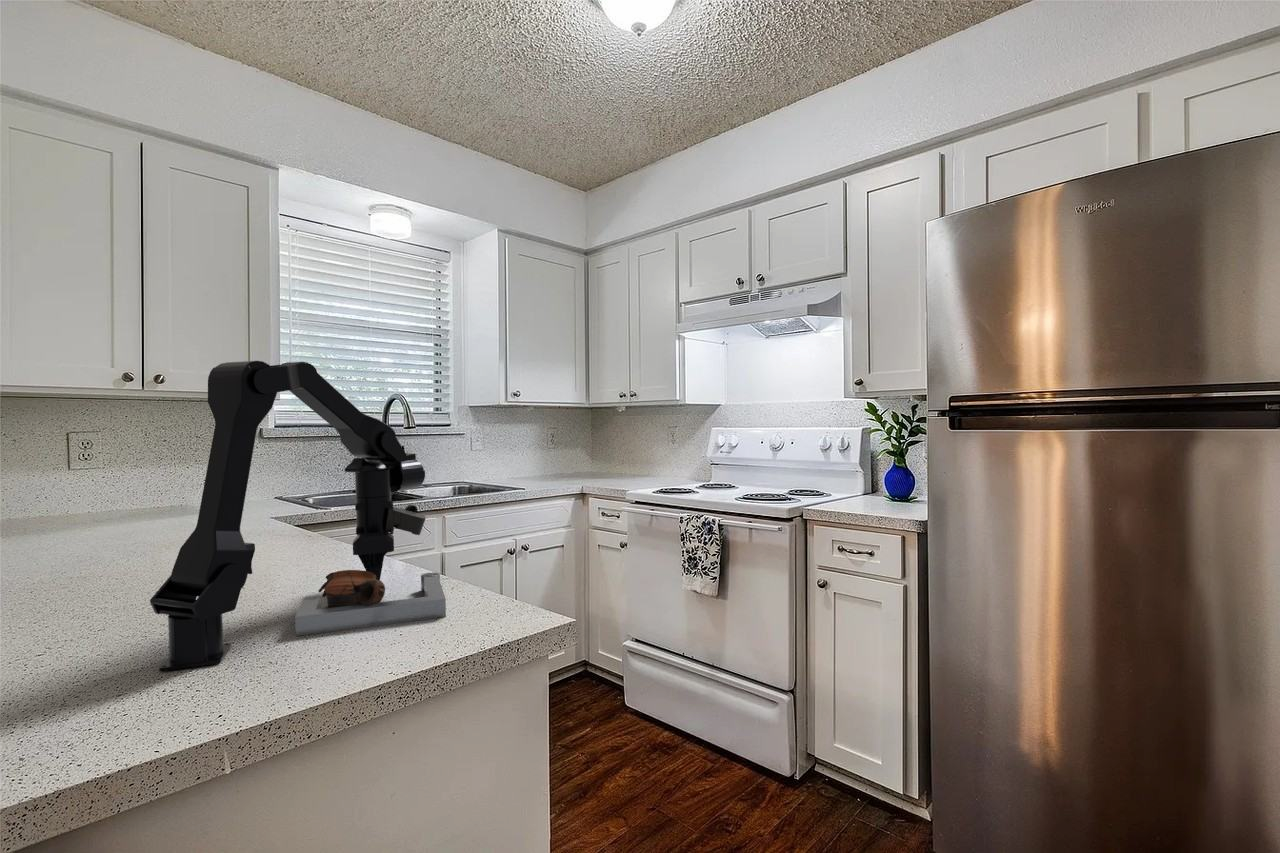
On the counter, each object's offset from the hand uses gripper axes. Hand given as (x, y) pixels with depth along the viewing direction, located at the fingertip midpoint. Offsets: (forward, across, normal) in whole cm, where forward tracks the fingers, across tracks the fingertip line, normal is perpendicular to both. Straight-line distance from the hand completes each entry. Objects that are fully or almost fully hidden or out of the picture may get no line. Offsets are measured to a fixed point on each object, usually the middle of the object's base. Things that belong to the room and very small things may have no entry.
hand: (376, 583), depth 110 cm
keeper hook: (+2, -10, 0) cm, 10 cm away
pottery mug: (+2, -12, +3) cm, 12 cm away
